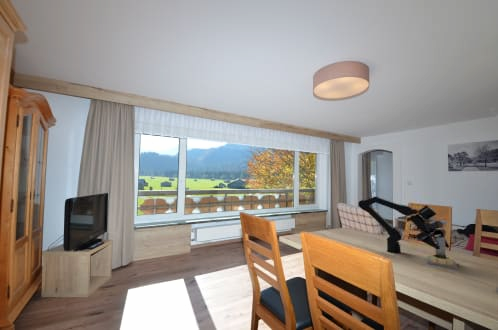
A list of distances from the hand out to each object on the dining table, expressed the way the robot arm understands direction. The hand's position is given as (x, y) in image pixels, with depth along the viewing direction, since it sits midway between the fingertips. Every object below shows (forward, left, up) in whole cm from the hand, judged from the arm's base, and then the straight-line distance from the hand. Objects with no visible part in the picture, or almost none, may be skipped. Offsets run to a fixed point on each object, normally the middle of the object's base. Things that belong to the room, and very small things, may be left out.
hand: (443, 248), depth 119 cm
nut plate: (-1, +1, -9) cm, 9 cm away
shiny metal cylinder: (-1, +1, -7) cm, 8 cm away
